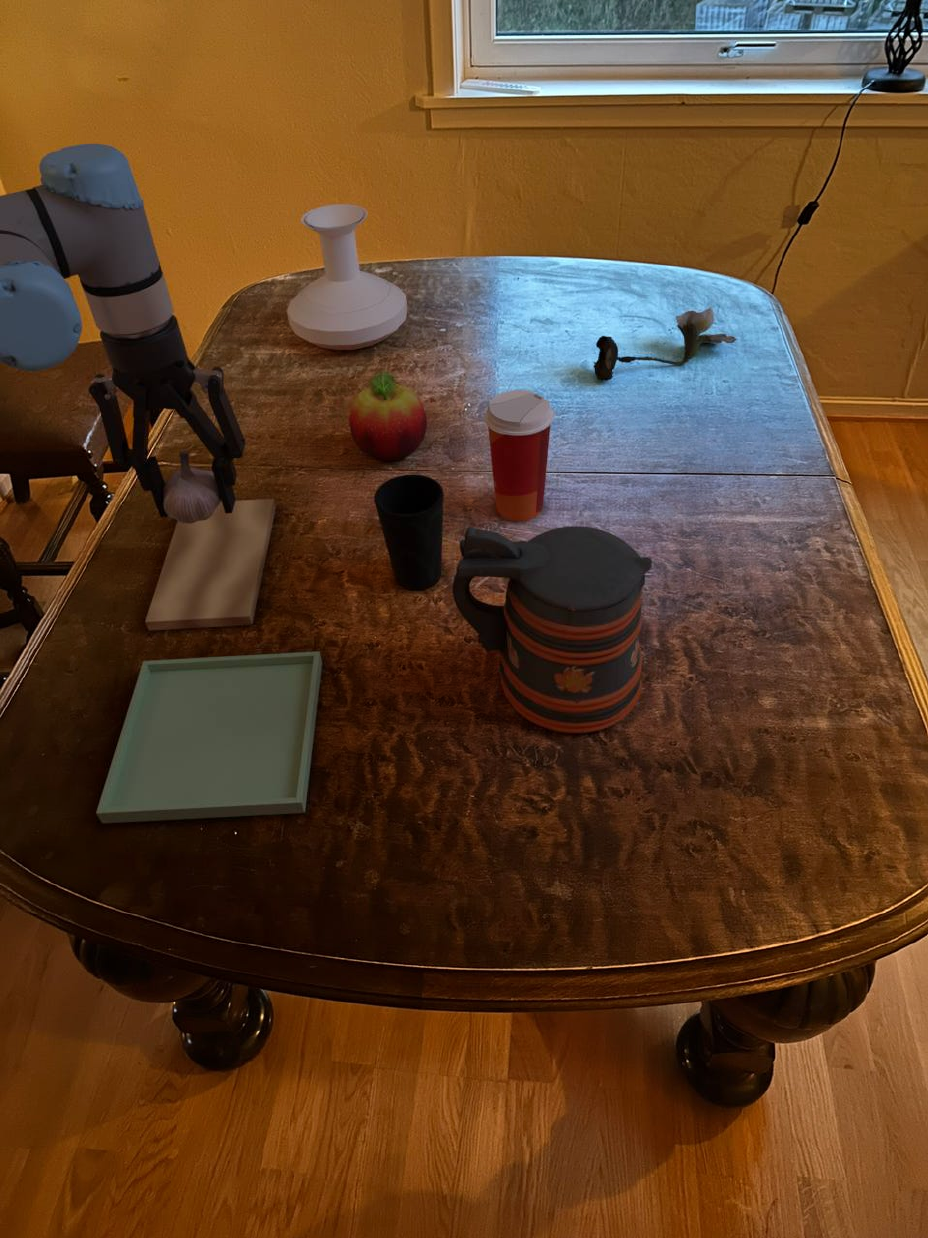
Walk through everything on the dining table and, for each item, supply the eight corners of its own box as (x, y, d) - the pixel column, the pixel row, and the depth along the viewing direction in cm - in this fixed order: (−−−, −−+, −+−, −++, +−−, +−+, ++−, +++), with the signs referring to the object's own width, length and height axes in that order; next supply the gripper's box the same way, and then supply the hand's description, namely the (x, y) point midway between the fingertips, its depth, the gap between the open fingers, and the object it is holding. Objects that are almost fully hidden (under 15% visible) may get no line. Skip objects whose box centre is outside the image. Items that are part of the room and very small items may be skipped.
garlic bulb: (215, 482, 107) (198, 425, 101) (242, 511, 102) (226, 453, 97) (156, 507, 104) (135, 450, 98) (182, 538, 99) (161, 480, 94)
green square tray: (102, 823, 83) (95, 813, 82) (148, 671, 97) (143, 660, 96) (305, 813, 83) (301, 802, 82) (322, 662, 97) (319, 651, 95)
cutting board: (148, 631, 101) (144, 621, 100) (185, 512, 117) (182, 503, 116) (252, 625, 101) (249, 615, 100) (276, 507, 117) (273, 498, 116)
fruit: (351, 473, 121) (341, 410, 114) (355, 430, 129) (346, 368, 122) (429, 469, 121) (423, 405, 114) (429, 426, 129) (423, 363, 122)
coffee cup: (521, 480, 118) (521, 379, 108) (564, 508, 114) (568, 405, 103) (473, 506, 115) (468, 405, 104) (516, 536, 110) (515, 433, 100)
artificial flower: (584, 372, 140) (588, 306, 135) (713, 364, 145) (721, 300, 140) (606, 385, 132) (610, 315, 128) (741, 376, 137) (750, 309, 133)
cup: (378, 592, 104) (364, 511, 96) (396, 550, 109) (385, 470, 101) (441, 600, 103) (433, 519, 94) (457, 558, 108) (450, 477, 99)
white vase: (290, 314, 157) (267, 201, 143) (401, 299, 159) (389, 186, 145) (295, 368, 143) (271, 249, 129) (417, 352, 145) (406, 232, 131)
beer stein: (457, 739, 88) (444, 593, 74) (460, 633, 99) (449, 488, 85) (649, 736, 87) (672, 587, 73) (632, 630, 98) (649, 482, 84)
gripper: (242, 298, 89) (286, 483, 105) (48, 310, 90) (122, 493, 106) (230, 333, 84) (279, 523, 100) (24, 346, 84) (106, 533, 100)
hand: (198, 507), depth 103 cm, fingers closed on garlic bulb, 7 cm apart
